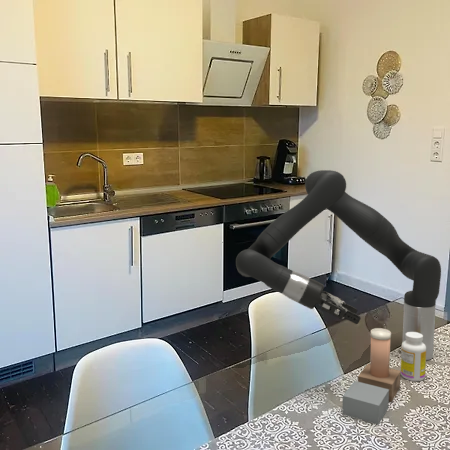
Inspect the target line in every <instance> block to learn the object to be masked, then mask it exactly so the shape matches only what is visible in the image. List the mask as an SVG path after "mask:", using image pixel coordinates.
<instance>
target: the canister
mask: <svg viewBox="0 0 450 450" xmlns="http://www.w3.org/2000/svg"><path fill="white" fill-rule="evenodd" d="M391 337H392V332H391V331H390V329H387V328H381V327H375V328H372V329H371V330H370V354H369V355H370V358H369V360H370V363H369V364H370V374H371V375H373V376H375V377H378V378H386V377H388V376H389V368H390V367H391V366H390V364H391V363H390V362H391V358H390V357H391V339H392V338H391Z"/></svg>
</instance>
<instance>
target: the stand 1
mask: <svg viewBox="0 0 450 450" xmlns="http://www.w3.org/2000/svg"><path fill="white" fill-rule="evenodd" d="M401 377H402V375H401V370H399V369H394V368H390V367H389V376H388V377H386V378H378V377H375V376H373V375H371V374H370V363H367V364H366V366H365V367H364V368H363V369H362V370H361V372H359V374H358V375H357V382H361V383H365V384H369V385H373V386H377V387H381V388H385V389H389V403H392V402H393V401H394V399H395V397H396V395H397V394H398V392H399V390H400V389H401Z"/></svg>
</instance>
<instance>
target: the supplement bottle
mask: <svg viewBox="0 0 450 450" xmlns="http://www.w3.org/2000/svg"><path fill="white" fill-rule="evenodd" d="M405 338H406V341H404V342H403V341H402V343H401V346H400V347H401V350H400V352H401V353H400V355H401V356H400V357H401V358H400V359H401V360H400V371H401V377H402V378H404V379H405V380H408V381H412V382H420V381H423V380H425V378H426V367H427V366H426V362H427V360H426V346H425V344H424V343H422V340H423V335H422V334H420V333H417V332H407V333H406V334H405Z"/></svg>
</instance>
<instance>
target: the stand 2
mask: <svg viewBox="0 0 450 450" xmlns="http://www.w3.org/2000/svg"><path fill="white" fill-rule="evenodd" d="M389 403H390V402H389V389H385V388H381V387H377V386H373V385H369V384H365V383H361V382H358V380H357V381H356V380H354V381H352V383H351V384H350V386H349V387H348V388H347V389H346V391H345V392H344V393H343V395H342V415H344V416H347V417H350V418H354V419H357V420H361V421H365V422H367V423H370V424H375V425H378V426H379V425H380V423H381V422H382V419H383V418H384V416H385V414H386V413H387V411H388V409H389Z"/></svg>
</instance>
